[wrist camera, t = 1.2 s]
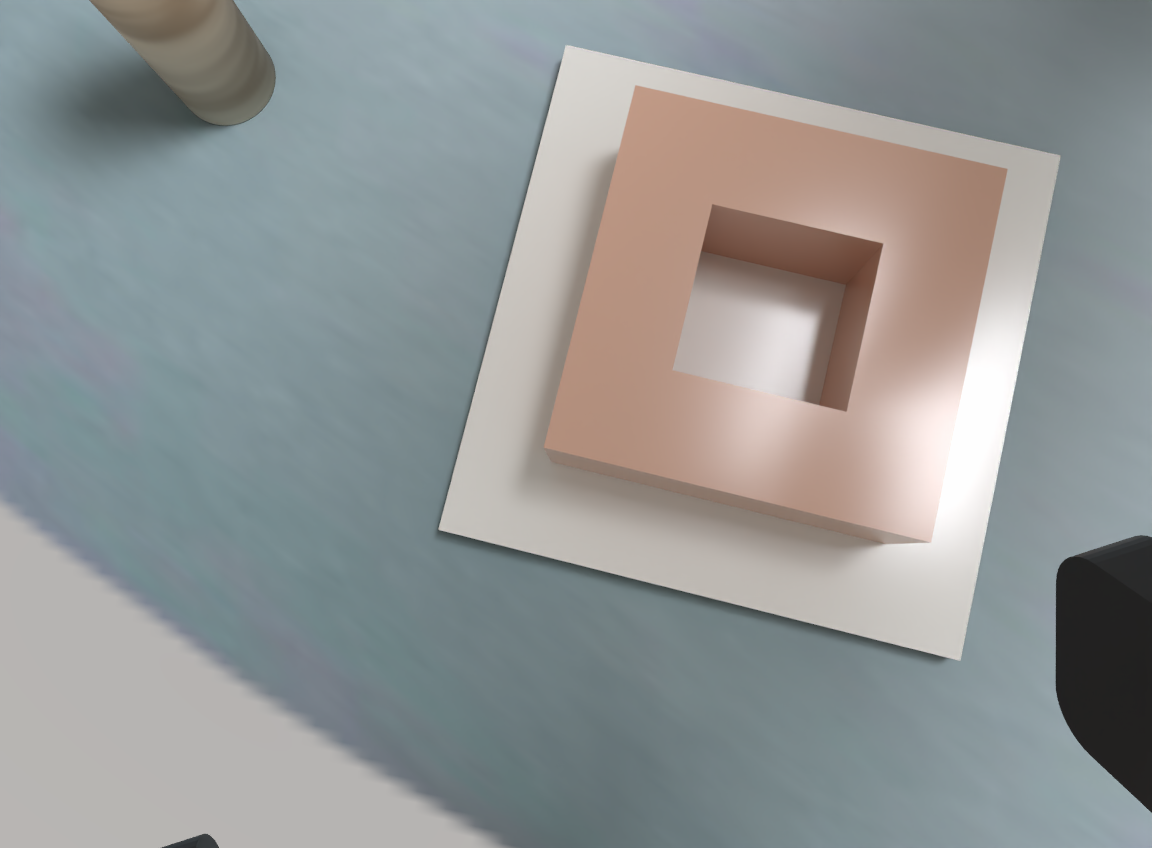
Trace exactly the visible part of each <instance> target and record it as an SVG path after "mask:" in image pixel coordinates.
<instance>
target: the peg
mask: <svg viewBox="0 0 1152 848" xmlns="http://www.w3.org/2000/svg"><path fill="white" fill-rule="evenodd" d="M90 1H91V3H92V4H93V5H94V6H95V7H96V8H97V9H98V10H99V11H100V12H101V13H102V14H103V16H104V17H105V18H106V19H107V20H108V21H109V22H110V23H111V24H112V25H113V26H114V28H115V29H116V30H117V31H118V32H119V33H120V34H121V35H122V36H123V37H124V38H125V39H126V41H127V42H128V43H129V44H130V45H131V46H132V47H133V48H134V49H135V50H136V51H137V52H138V54H139V55H140V56H141V57H142V58H143V59H144V60H145V61H146V62H147V63H148V64H149V66H150V67H151V68H152V69H153V70H154V71H155V72H156V73H157V74H158V75H159V76H160V77H161V79H162V80H163V81H164V82H165V83H166V84H167V85H168V86H169V87H170V88H171V89H172V90H173V92H174V93H175V94H176V95H177V96H178V97H179V98H180V99H181V100H182V101H183V102H184V104H185V105H186V106H187V107H188V108H189V109H190V110H191V111H192V112H193V113H194V114H195V115H196V116H197V117H199V118H201V119H202V120H204V121H206V122H209V123H212V124H216V125H235V124H239V123H242V122H245V121H247V120H249V119H251V118H252V117H254V116H255V115H257V114H258V113H259V112H260V111H261V110H262V109H263V108H264V107H265V106H266V104H267V103H268V102H269V100H270V98H271V96H272V93H273V91H274V87H275V79H276V77H275V68H274V64H273V62H272V59H271V57H270V55H269V54H268V52H267V51H266V49H265V48H264V46H263V45H262V43H261V42H260V40H259V39H258V37H257V36H256V34H255V33H254V31H253V30H252V28H251V27H250V25H249V24H248V22H247V21H246V19H245V18H244V16H243V15H242V13H241V12H240V10H239V9H238V7H237V6H236V4H235V3H234V1H233V0H90Z"/></svg>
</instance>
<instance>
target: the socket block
mask: <svg viewBox="0 0 1152 848" xmlns="http://www.w3.org/2000/svg"><path fill="white" fill-rule="evenodd" d="M1060 157H1061V155H1056V154H1052V153H1047V152H1043V151H1038V150H1034V149H1029V148H1025V147H1020V146H1016V145H1012V144H1007V143H1003V142H998V141H994V140H989V139H985V138H980V137H976V136H971V135H967V134H962V133H958V132H953V131H949V130H944V129H940V128H936V127H931V126H927V125H922V124H918V123H913V122H909V121H904V120H900V119H895V118H891V117H886V116H882V115H877V114H873V113H868V112H864V111H860V110H855V109H851V108H846V107H842V106H837V105H833V104H828V103H824V102H819V101H815V100H810V99H806V98H801V97H797V96H792V95H788V94H784V93H779V92H775V91H770V90H766V89H761V88H757V87H752V86H748V85H743V84H739V83H734V82H730V81H725V80H721V79H716V78H712V77H707V76H703V75H699V74H694V73H690V72H685V71H681V70H676V69H672V68H667V67H663V66H658V65H654V64H649V63H645V62H640V61H636V60H631V59H627V58H623V57H618V56H614V55H609V54H605V53H600V52H596V51H591V50H587V49H582V48H578V47H573V46H569V45H566V47H565V51H564V55H563V58H562V62H561V66H560V70H559V74H558V77H557V81H556V85H555V89H554V93H553V96H552V100H551V104H550V108H549V112H548V115H547V119H546V123H545V127H544V130H543V134H542V138H541V142H540V146H539V149H538V153H537V157H536V161H535V165H534V168H533V172H532V176H531V180H530V184H529V187H528V191H527V195H526V199H525V203H524V206H523V210H522V214H521V218H520V222H519V225H518V229H517V233H516V237H515V241H514V244H513V248H512V252H511V256H510V260H509V263H508V267H507V271H506V275H505V278H504V282H503V286H502V290H501V294H500V297H499V301H498V305H497V309H496V313H495V316H494V320H493V324H492V328H491V332H490V335H489V339H488V343H487V347H486V351H485V354H484V358H483V362H482V366H481V370H480V373H479V377H478V381H477V385H476V389H475V392H474V396H473V400H472V404H471V408H470V411H469V415H468V419H467V423H466V427H465V430H464V434H463V438H462V442H461V445H460V449H459V453H458V457H457V461H456V464H455V468H454V472H453V476H452V480H451V483H450V487H449V491H448V495H447V499H446V502H445V506H444V510H443V514H442V518H441V521H440V525H439V529H438V530H441V531H445V532H449V533H453V534H457V535H461V536H465V537H469V538H473V539H477V540H481V541H485V542H489V543H493V544H497V545H501V546H505V547H509V548H513V549H517V550H521V551H525V552H529V553H533V554H537V555H541V556H545V557H549V558H553V559H557V560H561V561H565V562H569V563H573V564H577V565H580V566H584V567H588V568H592V569H596V570H600V571H604V572H608V573H612V574H616V575H620V576H624V577H628V578H632V579H636V580H640V581H644V582H648V583H652V584H656V585H660V586H664V587H668V588H672V589H676V590H680V591H684V592H688V593H692V594H696V595H700V596H704V597H708V598H712V599H716V600H720V601H724V602H728V603H732V604H736V605H740V606H744V607H748V608H752V609H756V610H760V611H764V612H768V613H772V614H776V615H780V616H783V617H787V618H791V619H795V620H799V621H803V622H807V623H811V624H815V625H819V626H823V627H827V628H831V629H835V630H839V631H843V632H847V633H851V634H855V635H859V636H863V637H867V638H871V639H875V640H879V641H883V642H887V643H891V644H895V645H899V646H903V647H907V648H911V649H915V650H919V651H923V652H927V653H931V654H935V655H939V656H943V657H947V658H951V659H955V660H959V661H960V660H961V655H962V650H963V645H964V640H965V635H966V630H967V625H968V620H969V615H970V610H971V605H972V600H973V595H974V590H975V585H976V580H977V574H978V569H979V564H980V559H981V554H982V549H983V544H984V539H985V534H986V529H987V524H988V519H989V514H990V509H991V504H992V499H993V494H994V489H995V484H996V479H997V474H998V469H999V464H1000V459H1001V454H1002V449H1003V444H1004V439H1005V434H1006V429H1007V424H1008V419H1009V414H1010V408H1011V403H1012V398H1013V393H1014V388H1015V383H1016V378H1017V373H1018V368H1019V363H1020V358H1021V353H1022V348H1023V343H1024V338H1025V333H1026V328H1027V323H1028V318H1029V313H1030V308H1031V303H1032V298H1033V293H1034V288H1035V283H1036V278H1037V273H1038V268H1039V263H1040V258H1041V253H1042V248H1043V242H1044V237H1045V232H1046V227H1047V222H1048V217H1049V212H1050V207H1051V202H1052V197H1053V192H1054V187H1055V182H1056V177H1057V172H1058V167H1059V162H1060Z"/></svg>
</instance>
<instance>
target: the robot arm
mask: <svg viewBox="0 0 1152 848" xmlns="http://www.w3.org/2000/svg"><path fill="white" fill-rule="evenodd" d="M1056 692H1057V698H1058V702H1059V705H1060V708H1061V711H1062V714H1063V716H1064V718H1065V720H1066V722H1067V725H1068V726H1069V728H1070V730H1071V732H1072V733H1073V735H1074V736H1075V738H1076V739H1077V741H1078V742H1079V743H1080V744H1081V746H1082V747H1083V748H1084V749H1085V750H1086V751H1087V752H1088V753H1089V754H1090V755H1091V756H1092V757H1093V758H1094V759H1095V760H1096V761H1097V762H1098V763H1099V764H1100V765H1101V766H1102V767H1103V768H1105V769H1106V770H1107V771H1108V772H1109V773H1110V774H1111V775H1112V776H1113V777H1114V778H1115V779H1116V780H1117V781H1118V782H1119V783H1121V784H1122V785H1123V786H1124V787H1125V788H1126V789H1127V790H1128V791H1129V792H1130V793H1131V794H1132V795H1133V796H1134V797H1136V798H1137V799H1138V800H1139V801H1140V802H1141V803H1142V804H1143V805H1144V806H1145V807H1146V808H1147V809H1148V810H1149V811H1150V812H1152V537H1149V536H1142V535H1140V536H1134V537H1131V538H1128V539H1125V540H1122V541H1119V542H1116V543H1112V544H1109V545H1106V546H1103V547H1100V548H1097V549H1094V550H1091V551H1088V552H1085V553H1082V554H1078V555H1075V556H1072V557H1069V558H1067V559H1066V560H1064V561H1063V562H1062V563H1061V565H1060V567H1059V569H1058V572H1057V579H1056ZM162 848H219V847H218V845H217V843H216V842H215V840H214V839H213V838H212V837H211V836H210V835H208V834H202V835H199V836H196V837H193V838H190V839H187V840H184V841H181V842H177V843H174V844H171V845H168V846H165V847H162Z"/></svg>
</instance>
